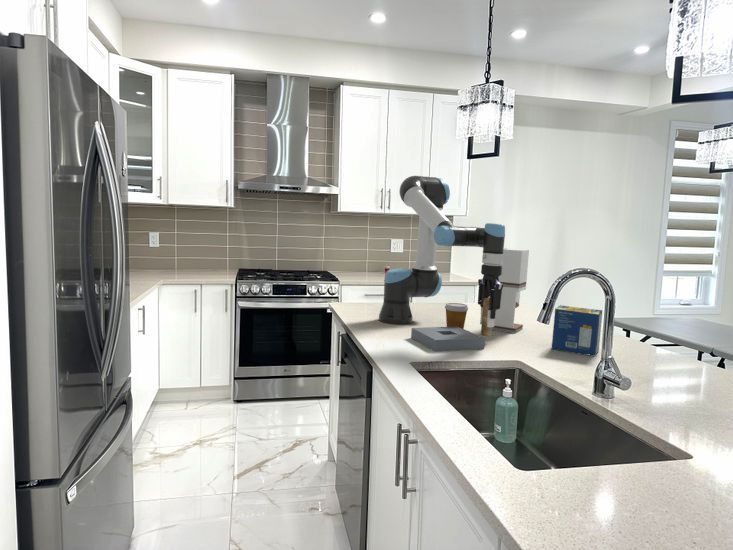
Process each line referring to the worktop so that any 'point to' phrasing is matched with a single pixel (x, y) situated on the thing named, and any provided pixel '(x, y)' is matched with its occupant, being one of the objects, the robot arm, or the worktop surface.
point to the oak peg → (485, 319)
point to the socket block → (447, 338)
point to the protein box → (576, 330)
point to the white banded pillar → (511, 289)
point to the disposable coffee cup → (456, 314)
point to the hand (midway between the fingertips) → (486, 325)
